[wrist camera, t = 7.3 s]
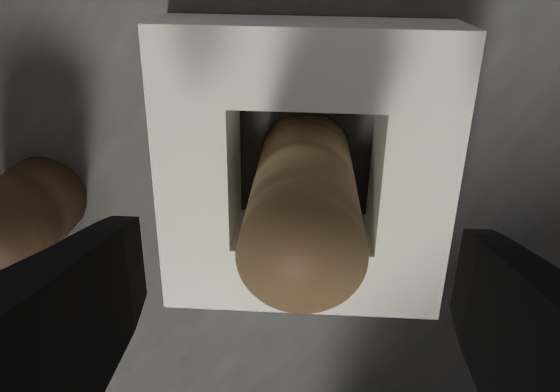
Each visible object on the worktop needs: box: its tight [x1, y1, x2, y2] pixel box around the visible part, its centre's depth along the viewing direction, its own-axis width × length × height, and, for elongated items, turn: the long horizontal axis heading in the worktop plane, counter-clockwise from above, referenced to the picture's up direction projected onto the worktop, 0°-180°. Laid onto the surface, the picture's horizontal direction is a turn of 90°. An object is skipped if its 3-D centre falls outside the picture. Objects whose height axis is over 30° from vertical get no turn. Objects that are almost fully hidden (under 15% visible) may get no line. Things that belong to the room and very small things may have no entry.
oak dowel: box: [235, 112, 369, 314], centre depth 15 cm, size 3×3×7 cm
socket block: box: [138, 13, 487, 320], centre depth 17 cm, size 9×9×3 cm
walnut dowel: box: [0, 157, 87, 270], centre depth 18 cm, size 3×3×4 cm
